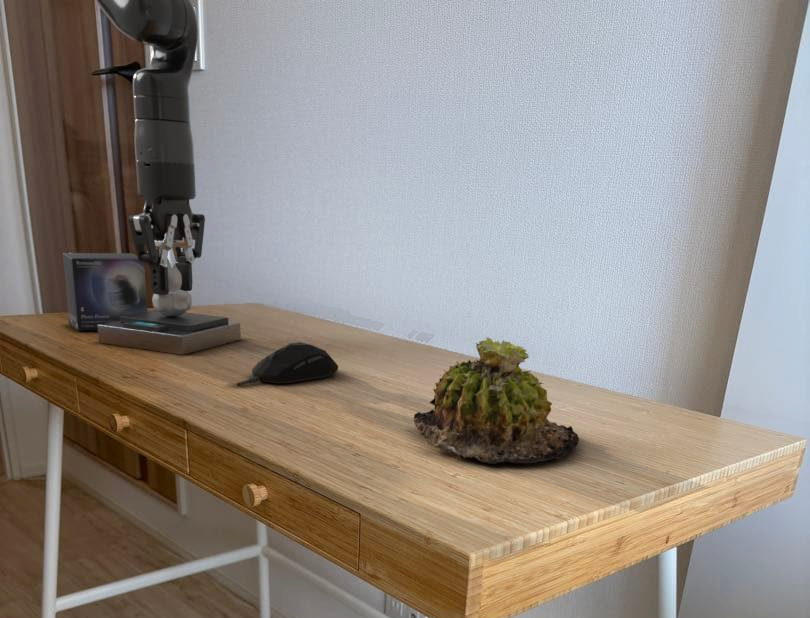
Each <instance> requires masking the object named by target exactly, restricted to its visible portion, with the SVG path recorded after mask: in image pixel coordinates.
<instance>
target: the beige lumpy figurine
mask: <svg viewBox="0 0 810 618" xmlns="http://www.w3.org/2000/svg"><path fill="white" fill-rule="evenodd" d="M164 267H167V268H168V285H169V293H168V294H167V295H158V294H154V293H153V294H152V298H151V300H152V301H151V302H152V306H153V308H154V310H157V312H158V313H160V314H162V315H165V316H180V315H182V314H184V313H185V312H187V311H189V310H190V309H191V308H192V305H193V304H192V303H193V296H192V295H191V293H190V292H189V291H184V290H181V289H180V288H181V285H182V277H181V273H180V272H179V270H178V269H177V267H176V265H175V263H173V264H172V265H171V262H170V260H169V257H167V264H166V266H164Z"/></svg>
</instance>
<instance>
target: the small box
mask: <svg viewBox="0 0 810 618" xmlns="http://www.w3.org/2000/svg"><path fill="white" fill-rule="evenodd" d="M62 259H63V266H64V268H63V269H64V278H65V288H66V289H65V291H66V301H67V309H68V324H69V325H71V326H72V327H73V328H74V329H75V330H77V331H78V332H85V331H86V332H87V331H88V332H89V331H90V332H91V331H98V327H97V325H98V324H104V323H109V322H115V321H120V316H125V315H131V314H136V313H142V312H148V299H147V297H148V296H147V279H146V262H144V261H139V260H138V257H137V254H135V253H130V252H129V253H124V252H123V253H115V252H114V253H113V252H111V253H109V252H107V253H106V252H105V253H104V252H103V253H102V252H63V253H62Z"/></svg>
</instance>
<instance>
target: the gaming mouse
mask: <svg viewBox="0 0 810 618" xmlns="http://www.w3.org/2000/svg"><path fill="white" fill-rule="evenodd" d="M338 370H339V365H338V364H337V362H336V361H335V360H334V359H333V357H332V356H331V355H330V354H329V353H328V352H327V351H326V350H324V349H322V348H320V347H317V346H315V345H313V344H309V343H305V342H302V341H298V342H290V343H288V344H286V345H284V346H282V347H280V348H278V349H277V350H275V351H274V352H272V353H270V354H269V355H267V356H265V357H264V358H262V359H261V360H260V361H258V362H257V363H256V364H255V366H253V368H252V370H251V376H252V377H249V378H248V379H246V380H243V381H239V382H236V386H237V387H240V386H244V385H247V384H254V383H256V382H259V381H261V382H265V383H272V384H290V383H298V382H303V381H304V382H305V381H309V380H315V379H322V378H327V377H329V376H331V375H334V374H336V373H337V371H338Z"/></svg>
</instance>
